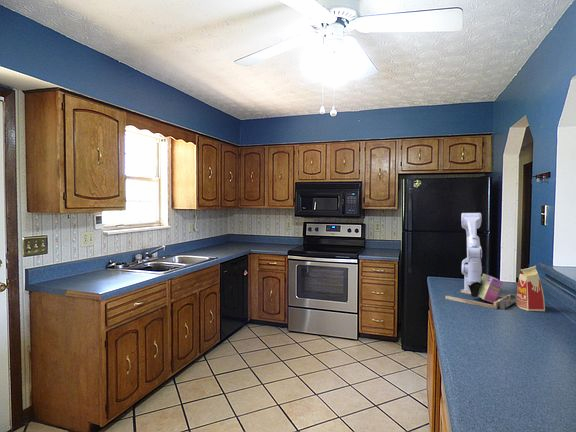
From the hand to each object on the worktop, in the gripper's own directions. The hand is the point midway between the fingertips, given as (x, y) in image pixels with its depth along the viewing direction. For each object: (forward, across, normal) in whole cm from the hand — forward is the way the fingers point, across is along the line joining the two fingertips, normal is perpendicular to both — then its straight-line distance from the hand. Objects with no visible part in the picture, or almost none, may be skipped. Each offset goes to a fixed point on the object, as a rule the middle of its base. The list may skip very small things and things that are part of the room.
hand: (474, 296), depth 180 cm
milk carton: (+2, -3, +23) cm, 24 cm away
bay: (+1, 0, +3) cm, 3 cm away
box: (+1, -1, +5) cm, 5 cm away
